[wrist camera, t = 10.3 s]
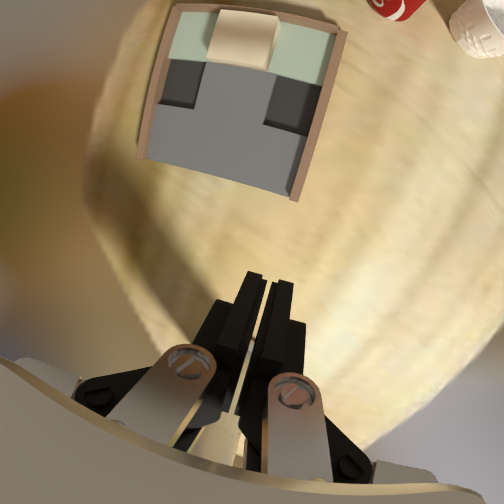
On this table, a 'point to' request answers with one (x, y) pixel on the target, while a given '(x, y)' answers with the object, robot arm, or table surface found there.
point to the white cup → (479, 28)
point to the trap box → (240, 101)
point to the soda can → (396, 8)
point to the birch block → (244, 39)
